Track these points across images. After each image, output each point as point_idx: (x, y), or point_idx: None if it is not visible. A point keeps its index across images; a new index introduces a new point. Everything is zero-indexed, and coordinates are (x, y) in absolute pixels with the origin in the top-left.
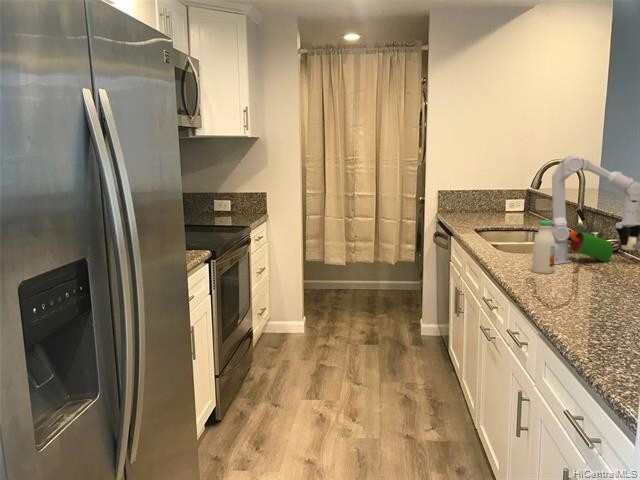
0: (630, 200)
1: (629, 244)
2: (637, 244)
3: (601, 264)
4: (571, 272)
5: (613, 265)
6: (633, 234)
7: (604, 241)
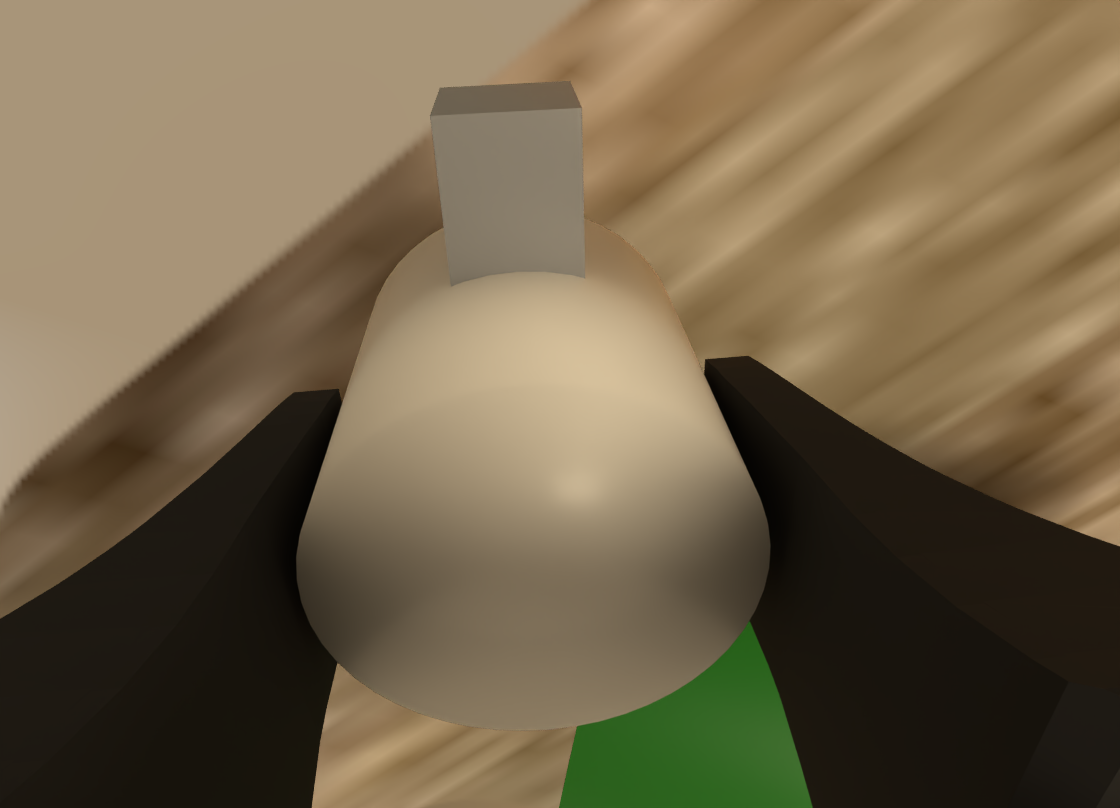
0: None
1: (670, 325)
2: (480, 195)
3: (847, 375)
4: None
5: (770, 260)
6: (276, 676)
7: (786, 741)
